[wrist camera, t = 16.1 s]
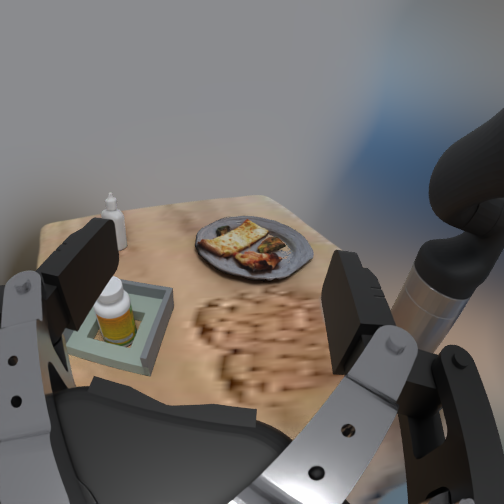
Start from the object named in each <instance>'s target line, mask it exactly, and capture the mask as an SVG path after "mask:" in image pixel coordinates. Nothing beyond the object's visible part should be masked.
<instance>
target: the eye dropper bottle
mask: <svg viewBox="0 0 504 504" xmlns="http://www.w3.org/2000/svg"><path fill="white" fill-rule="evenodd" d="M105 204H106V209H105V210H103V211H102V213H101V216H102V218H103V219H111V220H113V221H114V223H115V229H116V237H117V245H118V251H120V250H122V249H124V248H126V247H127V240H126V230H125V221H124V215H123V213H122V212H121V211H120V210H119V209H117V198H115V197H113V194H112V193H111V192H110V193H109V195H108V198H107V199H106V200H105Z"/></svg>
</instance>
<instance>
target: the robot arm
mask: <svg viewBox="0 0 504 504" xmlns="http://www.w3.org/2000/svg"><path fill="white" fill-rule="evenodd" d="M429 200H430V204H431V207H432V210H433V211H434V213H435V214H436V215H437V216H438V217H439V218H440V219H441V220H442V221H444V222H445V223H447V224H449V225H451V226H453V227H456V228H458V229H461V230H464V231H465V232H463V233H462V234H460V235H458V236H456V237H453V238H448V239H436V240H430V241H428V242H425V243H424V244H423V245H422V246H421V248H420V250H419V252H418V254H417V257H416V259H415V261H414V263H413V266H412V268H411V270H410V272H409V274H408V277H407V278H406V281H405V283H404V285H403V287H402V289H401V291H400V293H399V295H398V297H397V299H396V301H395V303H394V305H393V307H392V309H391V311H390V308H389V306H388V303H387V301H386V299H385V298H384V297H385V296H384V293H383V291H382V290H381V286H380V284H379V282H378V279H377V277H376V276H375V275H374V274H373V273H372V272H371V271H370V270H369V269H368V268H363V267H362V264H361V262H360V260H359V257H358V255H357V253H355V252H348V251H341V250H335V251H334V253H333V256H332V259H331V262H330V265H329V268H328V272H327V275H326V278H325V281H324V284H323V288H322V295H321V300H322V307H323V313H324V318H325V325H326V331H327V337H328V343H329V350H330V357H331V364H332V371H333V374H336V375H345V377H344V378H343V379H342V381H341V382H340V383H339V385H338V386H337V387H336V389H335V390H334V391H333V393H332V394H331V395H330V397H329V398H328V399H327V401H326V402H325V403H324V404H323V406H322V407H321V408H320V409H319V411H318V412H317V413H316V414H315V416H314V417H313V418H312V419H311V420H310V422H309V423H308V424H307V425H306V426H305V428H304V429H303V430H302V431H301V432H300V433H299V435H298V436H297V437H296V438H295V439H294V440H292V439H290V438H289V437H288V436H287V435H285V434H284V433H283V432H281V431H279V430H278V429H276V428H274V427H272V426H270V425H268V424H266V423H263V422H260V421H257V420H256V413H257V409H250V408H241V407H232V406H225V405H218V404H204V405H180V406H169V405H165V404H163V403H161V402H159V401H157V400H155V399H153V398H151V397H149V396H147V395H145V394H143V393H141V392H139V391H137V390H135V389H133V388H132V387H130V386H126V385H123V384H119V383H115V382H112V381H109V380H105V379H102V378H99V377H96V376H94V377H93V380H92V382H91V384H90V386H82V387H76V385H75V382H74V379H73V375H72V371H71V366H70V362H69V357H68V352H67V347H66V341H65V337H64V335H63V332H64V330H65V329H66V328H67V329H70V330H74V331H77V332H78V330H79V329H80V327H81V325H82V324H83V322H84V320H85V319H86V317H87V315H88V314H89V312H90V311H91V309H92V307H93V306H94V304H95V302H96V301H97V299H98V298H99V296H100V295H101V293H102V292H103V290H104V288H105V287H106V285H107V284H108V282H109V281H110V279H111V278H112V276H113V275H114V273H115V272H116V270H117V267H118V263H119V252H118V245H117V237H116V229H115V223H114V221H113V220H111V219H103V218H93V219H91V220H90V221H89V222H88V223H87V224H86V225H85V226H84V227H83V228H82V229H80V230H78V231H76V232H75V233H73V234H71V235H70V236H69V237H68V238H67V239H66V240H65V241H64V242H63V243H62V244H61V245H60V246H59V247H58V248H57V249H56V251H54V252H53V253H52V254H51V255H50V256H49V257H48V258H47V259H46V260H45V261H44V263H43V264H42V265H41V266H40V267H39V268H38V269H37V270H36V271H24V272H21V273H18V274H16V275H15V276H13V277H12V278H11V279H10V280H9V281H8V282H7V284H6V285H2V286H0V504H350V503H349V502H348V501H347V500H346V497H347V496H348V495H349V493H350V492H351V490H352V489H353V487H354V486H355V484H356V483H357V481H358V480H359V478H360V477H361V475H362V474H363V472H364V471H365V469H366V468H367V466H368V464H369V463H370V461H371V459H372V458H373V456H374V454H375V453H376V451H377V449H378V448H379V446H380V444H381V442H382V441H383V439H384V437H385V435H386V433H387V431H388V429H389V428H390V426H391V424H392V422H393V420H394V418H395V416H396V414H397V413H398V416H399V423H400V429H401V436H402V443H403V451H404V459H405V469H406V479H407V492H408V504H504V454H503V449H502V445H501V441H500V437H499V433H498V430H497V427H496V423H495V419H494V416H493V413H492V409H491V406H490V403H489V400H488V397H487V394H486V392H485V389H484V386H483V383H482V381H481V378H480V375H479V373H478V370H477V367H476V365H475V362H474V360H473V358H472V357H471V355H470V354H469V353H468V352H467V351H466V350H464V349H463V348H461V347H459V346H457V345H447V346H445V347H444V348H443V349H442V351H441V352H440V353H439V355H437V354H433V353H434V351H435V350H436V349H437V347H438V346H439V345H440V343H441V342H442V341H443V339H444V338H445V336H446V335H447V334H448V332H449V330H450V329H451V328H452V326H453V325H454V323H455V322H456V320H457V319H458V317H459V315H460V314H461V312H462V311H463V309H464V307H465V306H466V304H467V302H468V301H469V299H470V297H471V296H472V294H473V293H474V291H475V289H476V288H477V287H478V286H479V285H480V284H482V283H483V282H484V281H485V279H486V278H487V277H488V275H489V273H490V271H491V270H492V268H493V267H494V265H495V263H496V261H497V259H498V257H499V256H500V254H501V252H502V250H503V248H504V108H503V109H502V110H501V111H500V112H499V113H497V114H496V115H495V116H494V117H493V118H491V119H490V120H489V121H487V122H486V123H484V124H483V125H481V126H480V127H478V128H477V129H475V130H474V131H472V132H471V133H469V134H467V135H466V136H464V137H463V138H461V139H460V140H458V141H457V142H455V143H454V144H453V145H451V146H450V147H449V148H448V149H447V150H446V151H445V152H444V154H443V155H442V156H441V157H440V159H439V161H438V162H437V164H436V166H435V168H434V170H433V173H432V175H431V179H430V184H429ZM442 408H443V412H444V416H445V420H446V424H447V437H446V439H445V436H444V431H443V427H442V422H441V418H440V414H439V411H440V410H441V409H442Z"/></svg>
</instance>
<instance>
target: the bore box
mask: <svg viewBox="0 0 504 504" xmlns="http://www.w3.org/2000/svg"><path fill="white" fill-rule="evenodd" d="M120 280H121V282H122V285H123V290H125V291H126V292H127V293H128V295H129V297H130V300H131V306H132V311H133V316H134V320H139V321H142V322H141V324H140V326H139V329H138V331H137V334H136V336H135V338H134V341H133V343H132V346H131V348H127V347H123V346H118V345H114V344H110V343H106V342H103V341H99V340H95V339H94V337H95V335H96V334H97V332H98V330H99V325H98V321H97V318H96V315H95V312H94V308H93V307H92V309H91V311H90V312H89V314H88V315H87V317H86V319H85V320H84V322H83V324H82V325H81V327H80V329H79V330H78V332H77V331H74V330H70V329H67V328H66V329H65V330H64V332H63V335H64V337H65V341H66V347H67V352H68V354H70V355H73V356H76V357H79V358H82V359H86V360H89V361H92V362H96V363H99V364H103V365H106V366H110V367H114V368H117V369H121V370H125V371H129V372H133V373H137V374H142V375H146V376H151V373H152V370H153V367H154V364H155V361H156V358H157V355H158V352H159V349H160V346H161V343H162V340H163V337H164V334H165V331H166V328H167V325H168V322H169V319H170V316H171V314H172V311H173V308H174V301H173V288H170V287H163V286H157V285H151V284H145V283H139V282H133V281H127V280H122V279H120Z"/></svg>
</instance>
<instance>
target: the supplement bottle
mask: <svg viewBox="0 0 504 504" xmlns="http://www.w3.org/2000/svg"><path fill="white" fill-rule="evenodd" d="M93 308H94V312H95V315H96V318H97V321H98V325H99V328H100V331H101V334H102V336H103V339H104V341H105V342H106V343H110V344H114V345H118V346H123V347H127V346H129V345H130V344H132V343H133V341H134V338H135V336H136V334H137V329H136V325H135V320H134V316H133V311H132V306H131V300H130V297H129V295H128V293H127V292H126V291H125V290H123V285H122V282H121V280H120V279H119V278H117V277H114V276H112V278H111V279H110V281H109V282H108V284H107V285H106V287H105V288H104V290H103V292H102V293H101V295H100V296H99V298H98V299H97V301H96V302H95V304H94V306H93Z"/></svg>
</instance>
